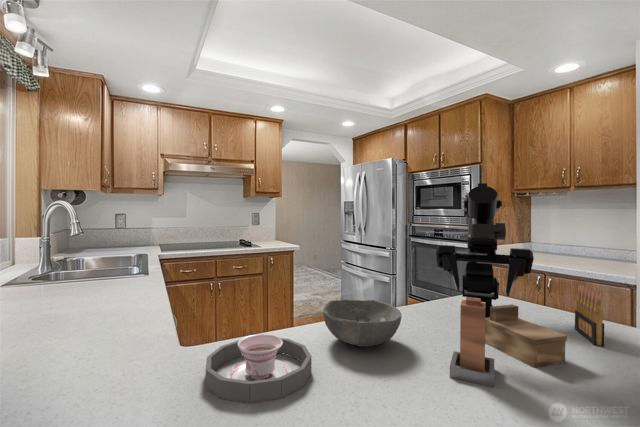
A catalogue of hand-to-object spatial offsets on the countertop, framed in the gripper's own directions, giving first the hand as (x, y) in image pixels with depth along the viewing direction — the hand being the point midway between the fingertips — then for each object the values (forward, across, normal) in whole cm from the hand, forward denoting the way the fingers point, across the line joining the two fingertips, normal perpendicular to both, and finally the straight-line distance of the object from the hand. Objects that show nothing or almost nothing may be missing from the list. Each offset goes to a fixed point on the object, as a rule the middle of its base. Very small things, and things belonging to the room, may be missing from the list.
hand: (482, 292), depth 68 cm
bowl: (+12, -25, +7) cm, 28 cm away
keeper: (+15, -2, +4) cm, 16 cm away
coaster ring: (+27, -38, -8) cm, 47 cm away
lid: (+2, +8, +11) cm, 14 cm away
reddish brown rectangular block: (+15, -2, +4) cm, 16 cm away
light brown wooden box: (+5, +8, +14) cm, 17 cm away
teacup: (+28, -37, -9) cm, 47 cm away
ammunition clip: (-6, +24, +26) cm, 36 cm away
